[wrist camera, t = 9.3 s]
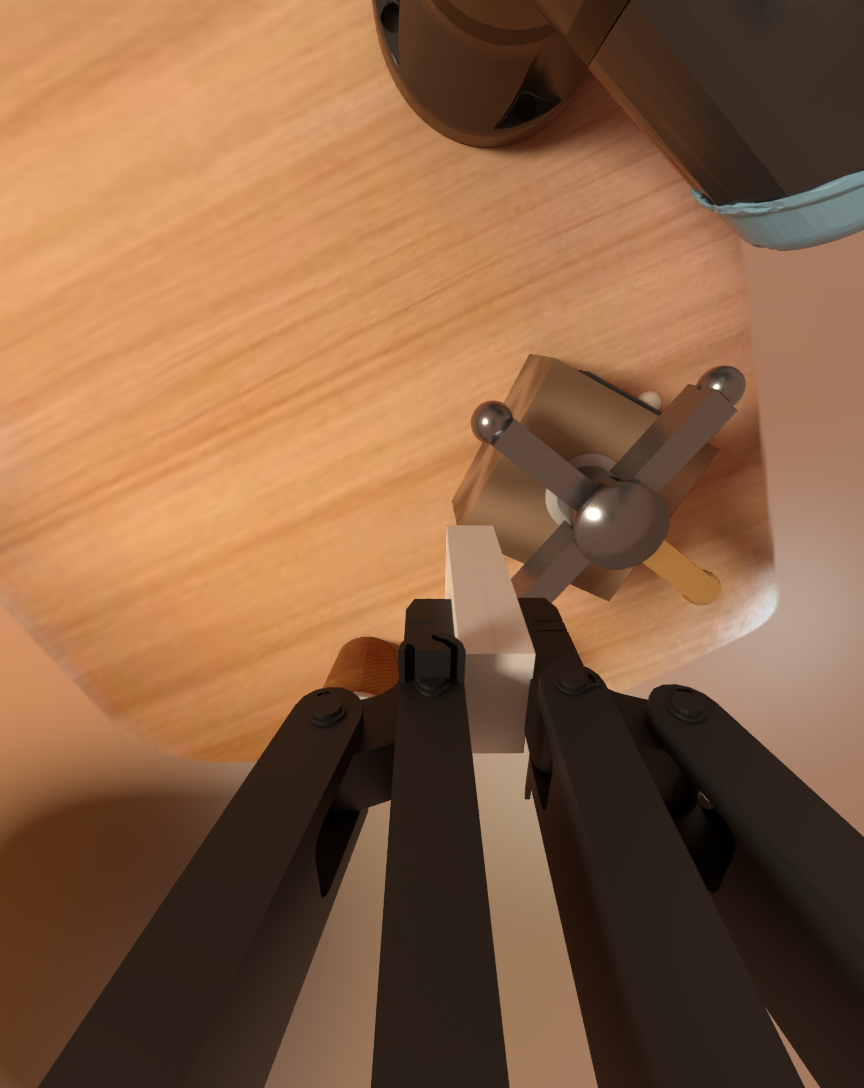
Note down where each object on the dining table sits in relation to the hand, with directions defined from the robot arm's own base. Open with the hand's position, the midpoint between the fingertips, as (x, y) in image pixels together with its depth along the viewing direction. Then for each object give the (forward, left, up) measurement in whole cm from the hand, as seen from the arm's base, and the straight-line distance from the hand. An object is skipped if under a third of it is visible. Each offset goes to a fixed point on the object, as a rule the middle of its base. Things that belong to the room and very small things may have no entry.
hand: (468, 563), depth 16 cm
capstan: (-1, +11, -19) cm, 22 cm away
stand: (-1, +11, -28) cm, 30 cm away
